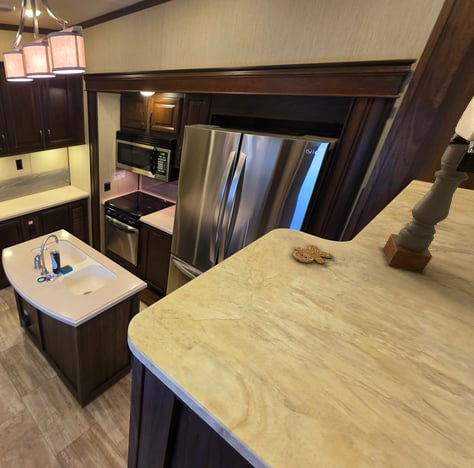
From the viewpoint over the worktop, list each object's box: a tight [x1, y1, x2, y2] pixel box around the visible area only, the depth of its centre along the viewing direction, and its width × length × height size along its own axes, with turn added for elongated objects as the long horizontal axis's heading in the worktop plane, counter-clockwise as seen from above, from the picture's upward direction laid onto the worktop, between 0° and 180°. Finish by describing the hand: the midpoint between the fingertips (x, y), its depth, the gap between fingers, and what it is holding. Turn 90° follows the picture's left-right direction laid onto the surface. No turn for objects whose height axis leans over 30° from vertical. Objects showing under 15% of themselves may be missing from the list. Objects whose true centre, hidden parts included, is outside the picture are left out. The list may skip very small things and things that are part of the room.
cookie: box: [292, 244, 334, 264], centre depth 80 cm, size 8×1×10 cm
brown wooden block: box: [383, 233, 433, 274], centre depth 76 cm, size 6×9×5 cm
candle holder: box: [395, 144, 470, 251], centre depth 68 cm, size 6×6×25 cm
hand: (457, 165), depth 64 cm, fingers open, 9 cm apart
